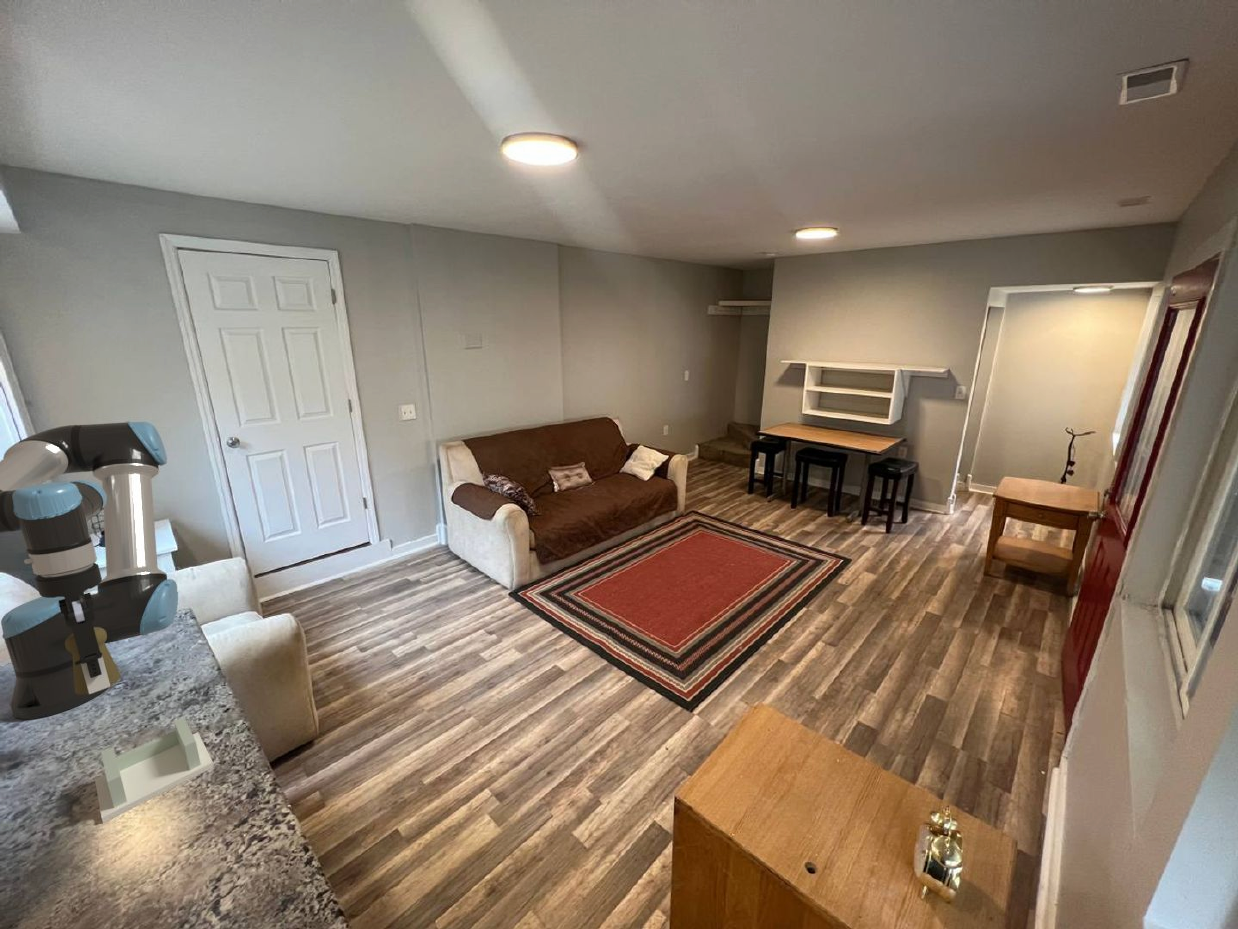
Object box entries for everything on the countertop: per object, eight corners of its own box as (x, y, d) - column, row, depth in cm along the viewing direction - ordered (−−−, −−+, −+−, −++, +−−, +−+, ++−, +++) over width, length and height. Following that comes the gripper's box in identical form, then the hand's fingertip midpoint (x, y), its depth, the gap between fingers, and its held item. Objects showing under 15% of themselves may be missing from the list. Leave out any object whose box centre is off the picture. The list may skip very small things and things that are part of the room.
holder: (96, 783, 84) (88, 754, 83) (199, 736, 95) (193, 710, 93) (103, 823, 77) (94, 792, 75) (213, 767, 87) (207, 738, 86)
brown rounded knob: (90, 696, 87) (75, 642, 84) (65, 692, 88) (50, 638, 86) (129, 675, 93) (116, 624, 90) (106, 671, 94) (92, 621, 91)
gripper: (33, 562, 88) (65, 672, 93) (35, 592, 76) (71, 716, 81) (92, 549, 94) (119, 654, 99) (102, 576, 82) (133, 692, 87)
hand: (98, 681), depth 90 cm, fingers closed on brown rounded knob, 6 cm apart
